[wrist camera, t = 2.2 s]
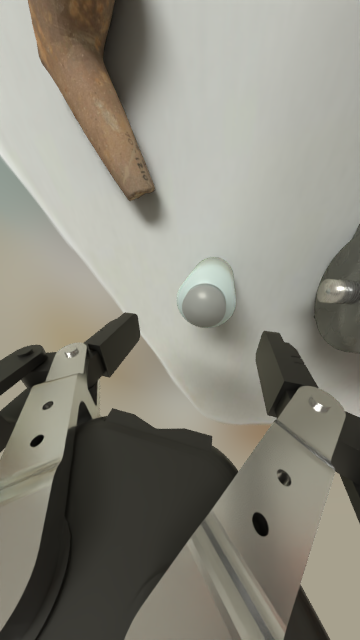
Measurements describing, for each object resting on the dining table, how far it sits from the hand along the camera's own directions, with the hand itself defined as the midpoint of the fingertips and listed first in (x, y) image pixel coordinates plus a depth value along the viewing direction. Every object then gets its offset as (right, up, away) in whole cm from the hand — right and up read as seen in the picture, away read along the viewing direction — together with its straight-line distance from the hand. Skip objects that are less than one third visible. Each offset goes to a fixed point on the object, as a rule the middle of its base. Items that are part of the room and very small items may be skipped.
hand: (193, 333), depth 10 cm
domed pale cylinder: (+3, +6, +11) cm, 13 cm away
